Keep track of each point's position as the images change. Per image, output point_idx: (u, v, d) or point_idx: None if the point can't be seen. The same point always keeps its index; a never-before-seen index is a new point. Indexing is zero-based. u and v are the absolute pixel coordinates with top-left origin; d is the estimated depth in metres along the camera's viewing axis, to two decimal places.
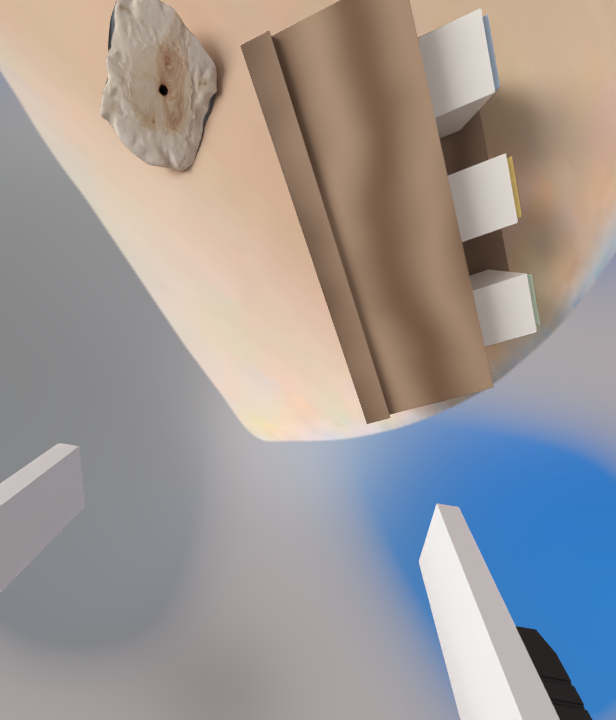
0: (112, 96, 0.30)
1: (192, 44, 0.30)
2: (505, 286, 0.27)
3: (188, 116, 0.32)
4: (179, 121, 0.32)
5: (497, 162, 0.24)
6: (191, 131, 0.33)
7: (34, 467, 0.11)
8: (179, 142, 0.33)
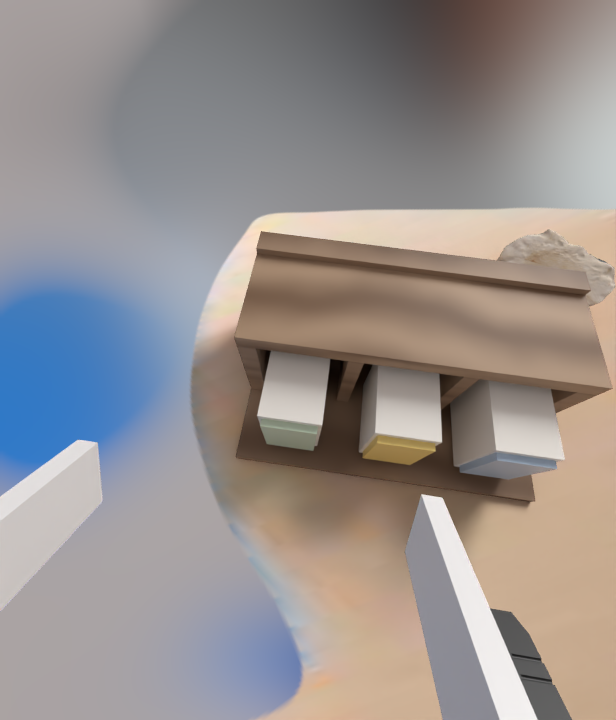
0: (558, 241, 0.41)
1: None
2: (318, 403, 0.26)
3: None
4: None
5: (436, 432, 0.25)
6: None
7: (57, 463, 0.11)
8: None
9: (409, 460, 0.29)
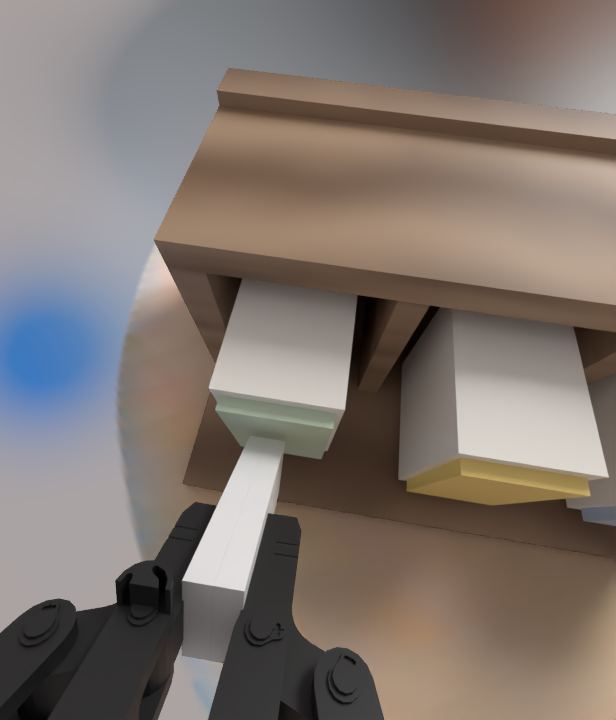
0: None
1: None
2: (336, 365, 0.13)
3: None
4: None
5: (592, 455, 0.11)
6: None
7: (249, 455, 0.13)
8: None
9: (500, 501, 0.15)
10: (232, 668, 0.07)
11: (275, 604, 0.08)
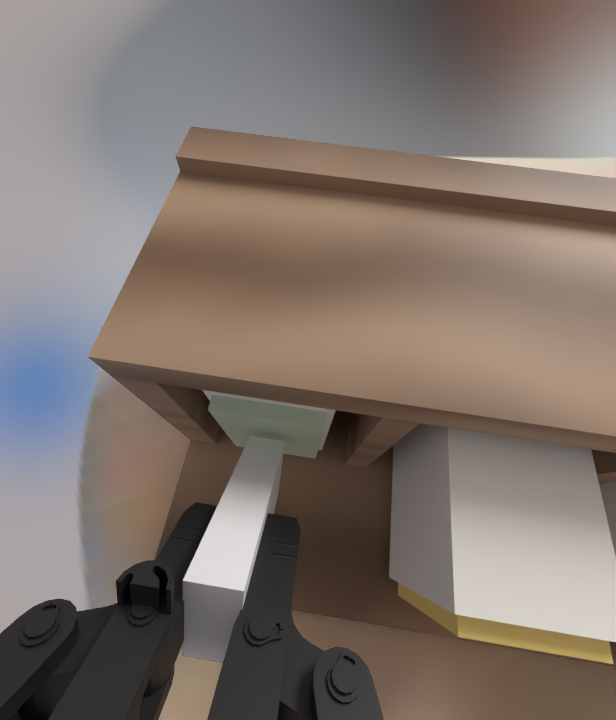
0: None
1: None
2: None
3: None
4: None
5: (614, 614, 0.10)
6: None
7: (249, 456, 0.13)
8: None
9: None
10: (231, 668, 0.07)
11: (275, 604, 0.08)
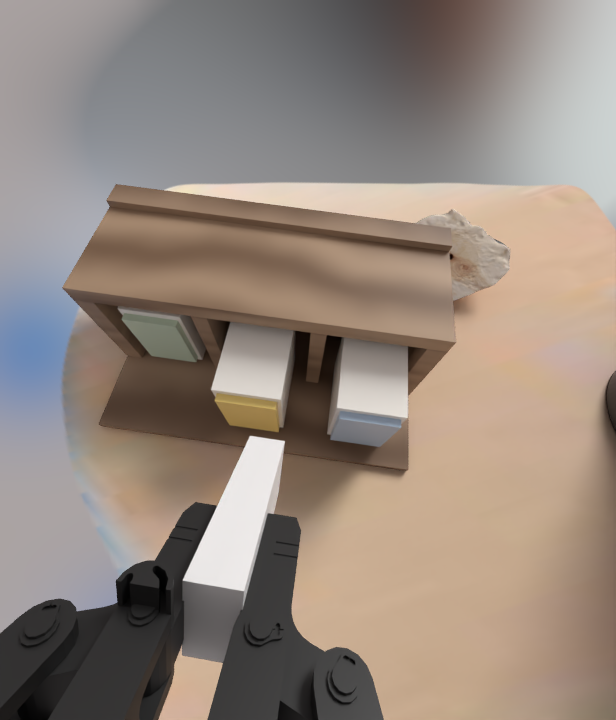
0: (460, 221, 0.39)
1: (468, 289, 0.37)
2: None
3: None
4: None
5: (276, 390, 0.24)
6: None
7: (249, 456, 0.13)
8: None
9: (270, 425, 0.28)
10: (231, 668, 0.07)
11: (275, 604, 0.08)
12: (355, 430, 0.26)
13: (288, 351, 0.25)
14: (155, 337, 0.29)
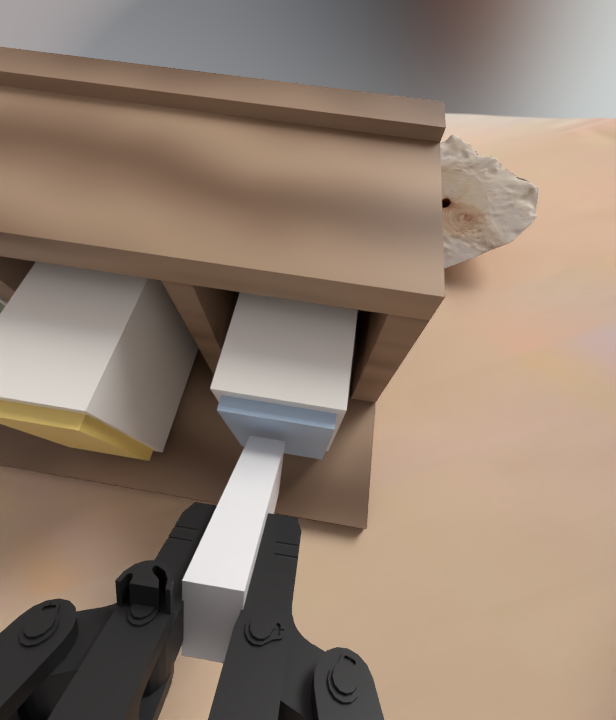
0: (462, 151, 0.26)
1: (470, 249, 0.24)
2: None
3: None
4: None
5: (82, 391, 0.12)
6: None
7: (249, 455, 0.13)
8: None
9: (121, 451, 0.16)
10: (232, 668, 0.07)
11: (275, 604, 0.08)
12: (263, 432, 0.14)
13: (127, 318, 0.13)
14: None
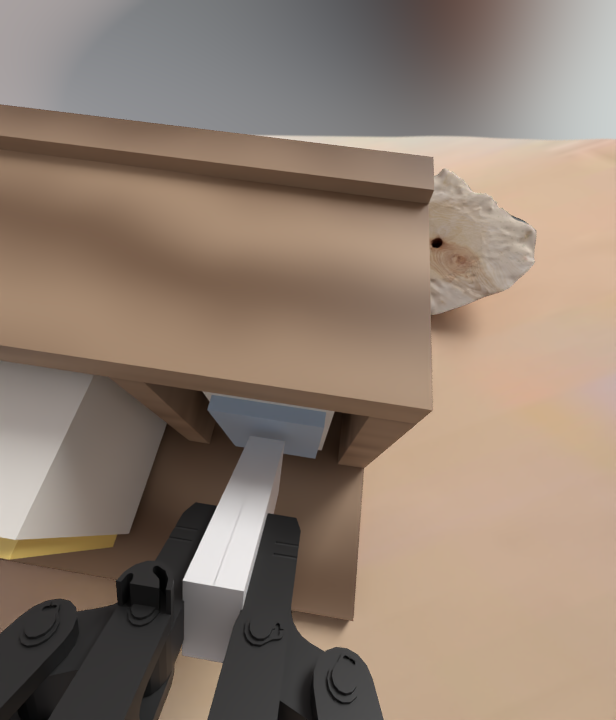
0: (455, 186, 0.24)
1: (464, 295, 0.23)
2: None
3: None
4: None
5: (14, 513, 0.10)
6: None
7: (249, 455, 0.13)
8: None
9: None
10: (231, 668, 0.07)
11: (274, 604, 0.08)
12: (255, 431, 0.14)
13: (72, 414, 0.12)
14: None
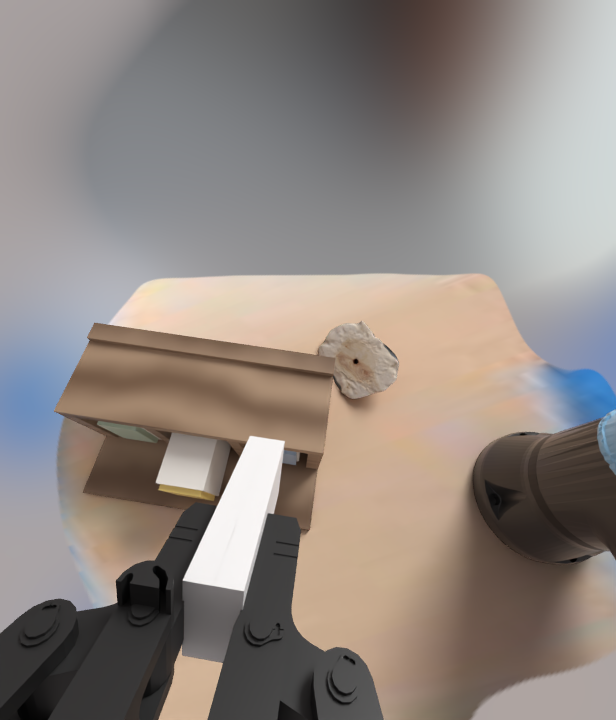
0: (366, 332, 0.48)
1: (365, 391, 0.46)
2: None
3: (338, 367, 0.49)
4: (339, 360, 0.49)
5: (201, 483, 0.34)
6: None
7: (249, 455, 0.13)
8: (330, 354, 0.50)
9: None
10: (231, 668, 0.07)
11: (275, 604, 0.08)
12: None
13: (212, 452, 0.36)
14: (123, 432, 0.39)
